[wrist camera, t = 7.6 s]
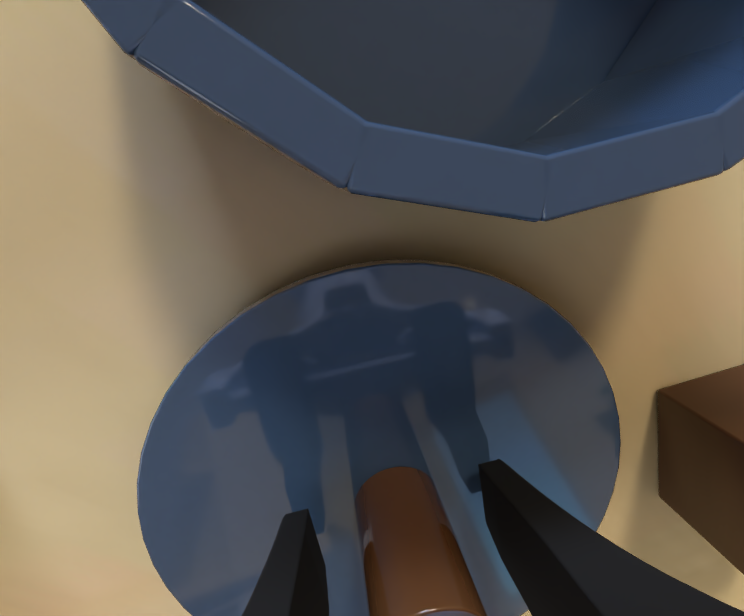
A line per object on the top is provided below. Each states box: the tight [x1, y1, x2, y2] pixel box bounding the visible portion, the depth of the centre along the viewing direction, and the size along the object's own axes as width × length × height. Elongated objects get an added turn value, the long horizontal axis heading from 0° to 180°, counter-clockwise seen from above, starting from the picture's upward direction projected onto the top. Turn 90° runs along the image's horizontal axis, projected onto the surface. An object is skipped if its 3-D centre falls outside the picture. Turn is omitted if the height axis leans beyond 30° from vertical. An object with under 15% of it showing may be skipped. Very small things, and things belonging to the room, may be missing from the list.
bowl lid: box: [137, 260, 621, 616], centre depth 10 cm, size 14×14×5 cm
